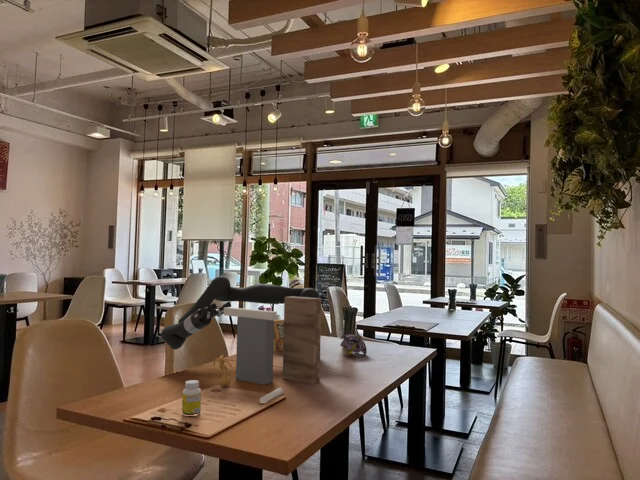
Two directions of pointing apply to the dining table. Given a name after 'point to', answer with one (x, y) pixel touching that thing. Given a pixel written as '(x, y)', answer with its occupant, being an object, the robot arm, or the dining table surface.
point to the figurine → (224, 379)
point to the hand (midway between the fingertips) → (223, 304)
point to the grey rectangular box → (255, 350)
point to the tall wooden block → (302, 339)
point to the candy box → (278, 334)
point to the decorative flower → (353, 344)
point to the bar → (250, 313)
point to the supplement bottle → (191, 398)
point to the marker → (271, 395)
